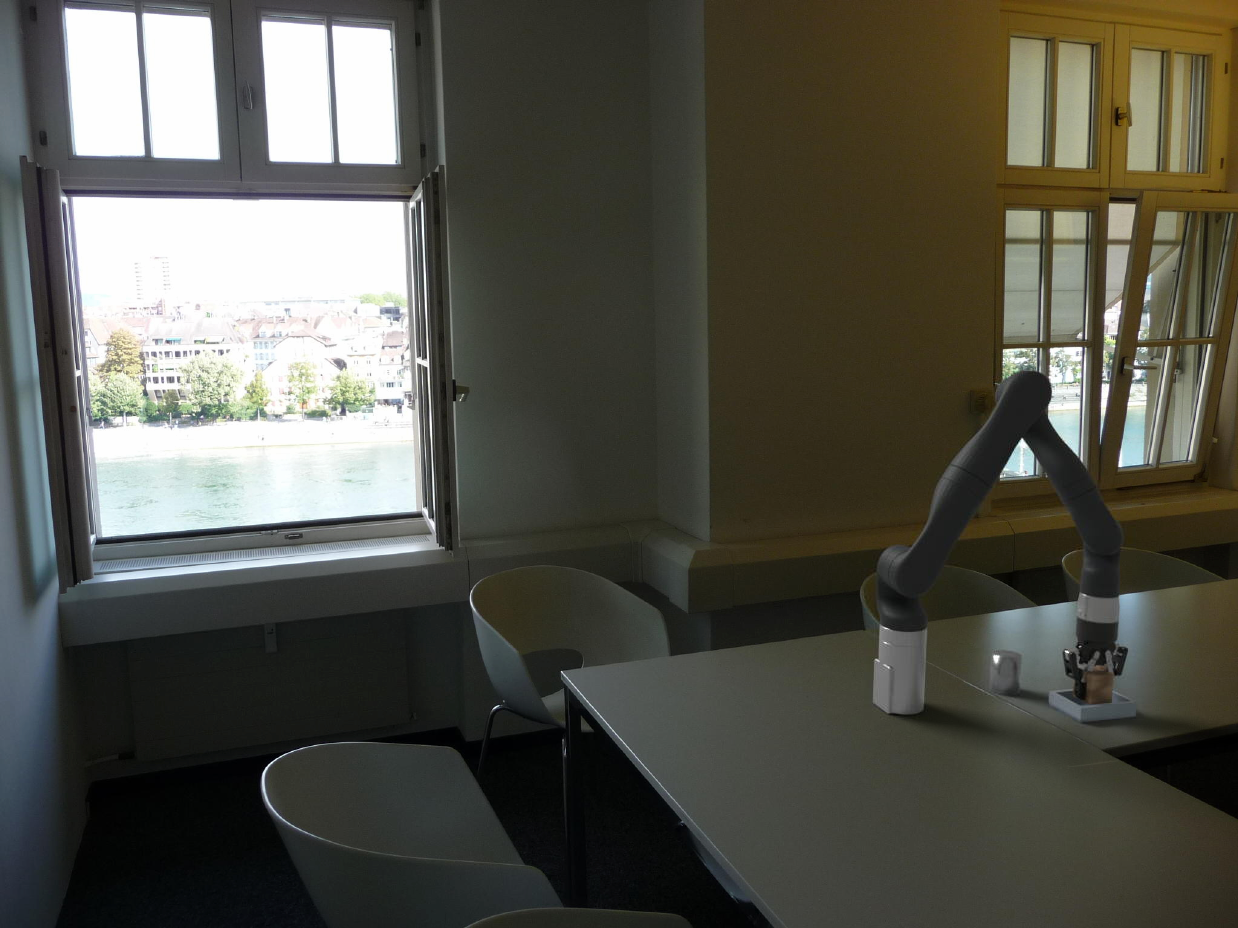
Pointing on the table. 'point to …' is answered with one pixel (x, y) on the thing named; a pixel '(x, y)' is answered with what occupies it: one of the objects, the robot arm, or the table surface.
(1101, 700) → the walnut block
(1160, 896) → the table surface
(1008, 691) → the grey can
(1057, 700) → the slate tray
